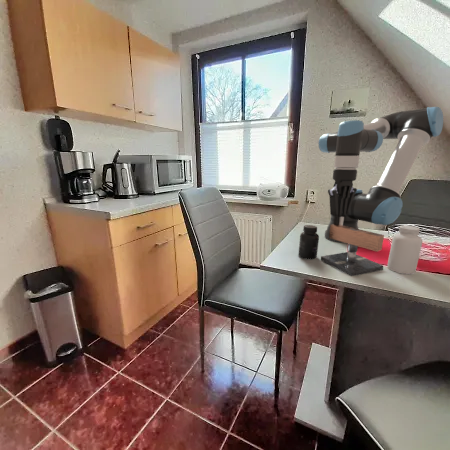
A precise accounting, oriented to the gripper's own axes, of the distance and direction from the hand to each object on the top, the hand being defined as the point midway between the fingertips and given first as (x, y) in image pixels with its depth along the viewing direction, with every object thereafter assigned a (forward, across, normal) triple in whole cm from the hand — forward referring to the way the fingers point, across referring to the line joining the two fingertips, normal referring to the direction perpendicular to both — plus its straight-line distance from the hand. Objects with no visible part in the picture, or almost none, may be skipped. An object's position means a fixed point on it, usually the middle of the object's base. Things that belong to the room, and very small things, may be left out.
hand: (337, 233), depth 91 cm
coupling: (+4, +1, +7) cm, 8 cm away
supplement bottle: (+10, +8, -6) cm, 14 cm away
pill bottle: (+10, -10, +18) cm, 23 cm away
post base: (+10, +1, +7) cm, 12 cm away
